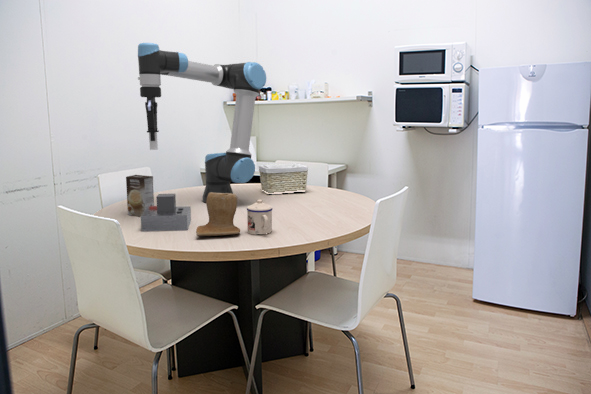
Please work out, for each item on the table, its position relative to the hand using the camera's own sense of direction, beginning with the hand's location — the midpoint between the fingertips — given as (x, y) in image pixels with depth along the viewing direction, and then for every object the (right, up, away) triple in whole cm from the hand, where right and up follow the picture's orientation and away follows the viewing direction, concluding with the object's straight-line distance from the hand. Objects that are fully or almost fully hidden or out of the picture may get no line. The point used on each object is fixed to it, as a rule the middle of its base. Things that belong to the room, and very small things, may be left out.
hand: (153, 149), depth 175 cm
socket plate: (+7, -29, -4) cm, 30 cm away
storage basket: (+48, -16, +71) cm, 87 cm away
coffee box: (-9, -26, +13) cm, 30 cm away
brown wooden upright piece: (+28, -32, -16) cm, 45 cm away
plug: (+6, -28, -5) cm, 29 cm away
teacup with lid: (+42, -31, -14) cm, 54 cm away
